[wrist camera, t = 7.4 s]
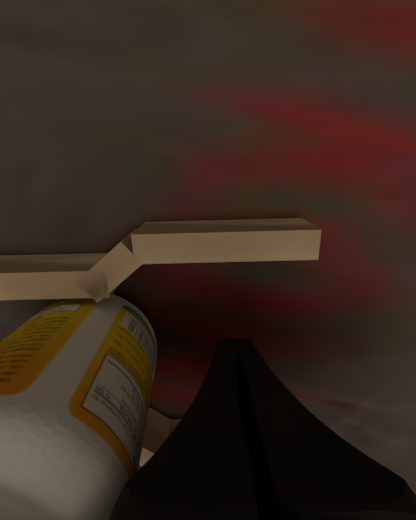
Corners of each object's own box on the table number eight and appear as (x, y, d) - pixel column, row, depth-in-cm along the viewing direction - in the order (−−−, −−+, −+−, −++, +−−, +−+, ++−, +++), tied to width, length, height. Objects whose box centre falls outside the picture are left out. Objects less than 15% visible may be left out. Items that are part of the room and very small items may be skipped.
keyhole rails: (284, 432, 14) (295, 473, 12) (-17, 436, 15) (-50, 477, 13) (301, 217, 11) (321, 229, 9) (-99, 228, 11) (-163, 242, 9)
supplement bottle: (177, 315, 12) (165, 699, 3) (130, 413, 13) (5, 948, 4) (54, 266, 11) (-546, 604, 2) (12, 375, 12) (-541, 966, 3)
